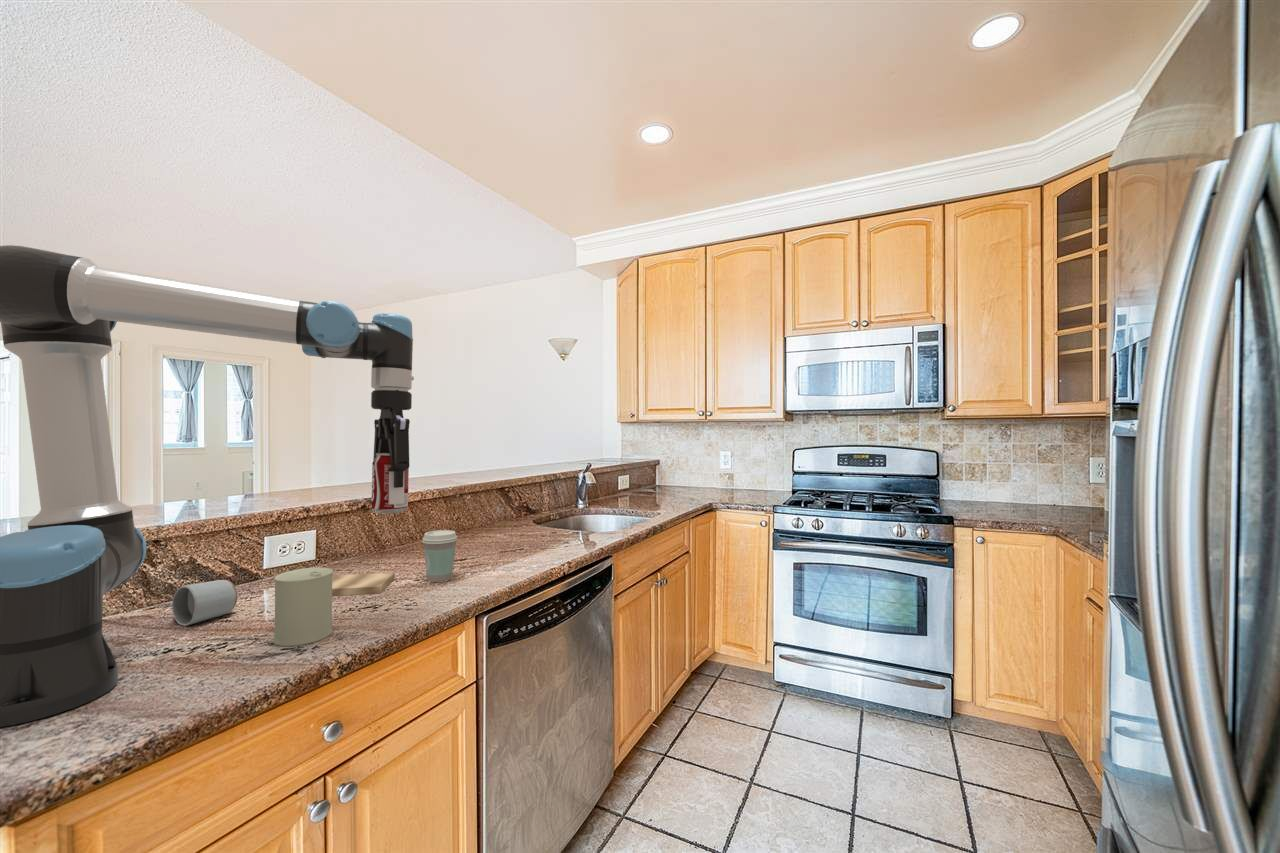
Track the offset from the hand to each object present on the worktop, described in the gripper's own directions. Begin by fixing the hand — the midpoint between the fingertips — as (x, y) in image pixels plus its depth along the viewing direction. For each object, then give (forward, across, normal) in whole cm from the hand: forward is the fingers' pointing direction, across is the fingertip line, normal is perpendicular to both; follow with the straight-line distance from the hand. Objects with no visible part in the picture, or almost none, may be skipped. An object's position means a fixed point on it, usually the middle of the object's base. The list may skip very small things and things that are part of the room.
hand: (389, 501), depth 105 cm
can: (+24, 0, +15) cm, 28 cm away
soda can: (+2, 0, 0) cm, 2 cm away
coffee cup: (+24, +19, -19) cm, 35 cm away
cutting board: (+24, +26, 0) cm, 35 cm away
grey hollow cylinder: (+24, +25, +28) cm, 44 cm away
